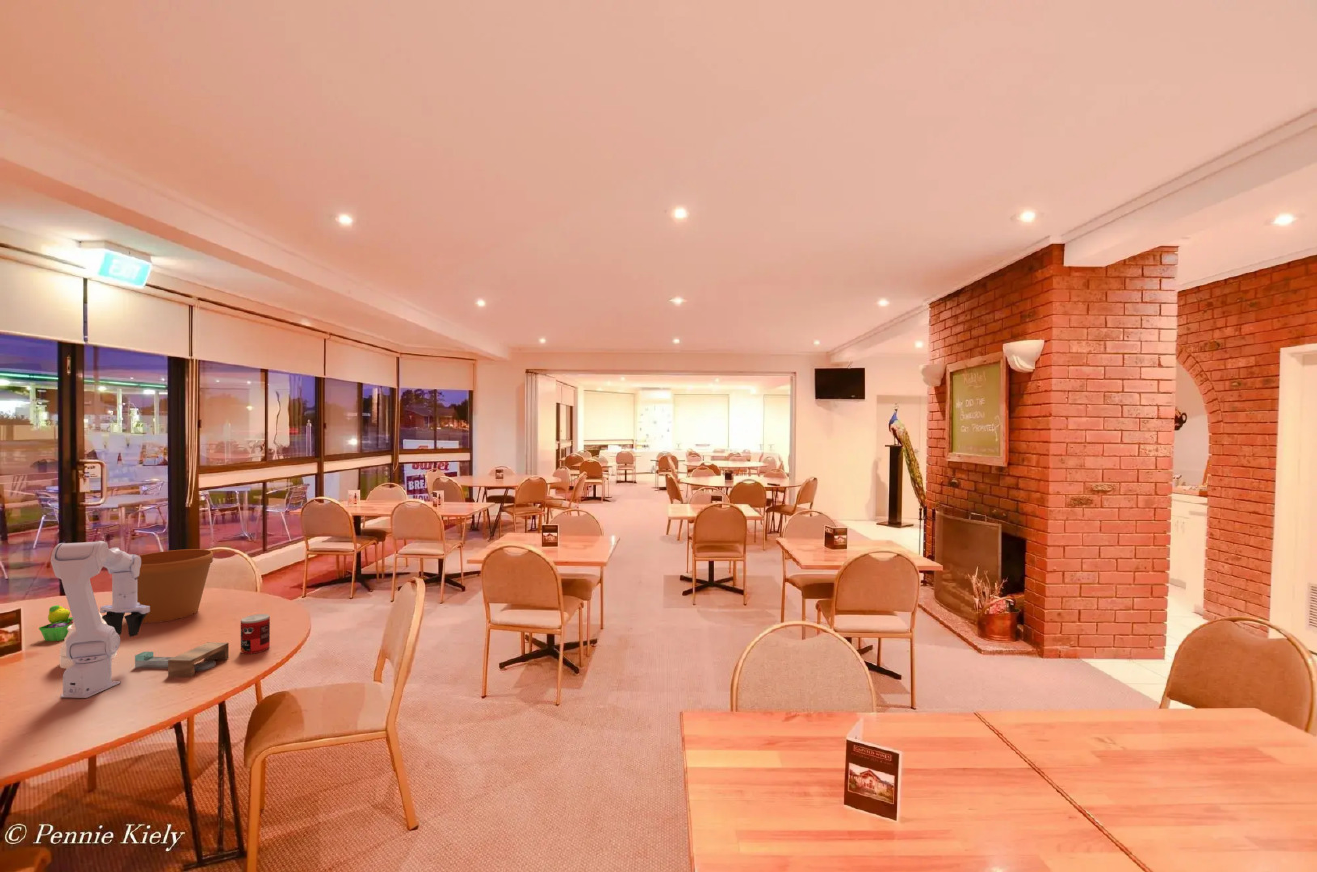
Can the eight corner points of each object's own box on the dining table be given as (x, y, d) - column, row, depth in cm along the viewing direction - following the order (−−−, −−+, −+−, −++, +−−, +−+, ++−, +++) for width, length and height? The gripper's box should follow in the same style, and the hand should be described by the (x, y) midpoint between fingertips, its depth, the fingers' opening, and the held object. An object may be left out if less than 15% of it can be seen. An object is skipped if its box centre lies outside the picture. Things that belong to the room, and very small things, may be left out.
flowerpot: (115, 632, 203) (114, 568, 202) (124, 613, 224) (124, 555, 224) (213, 616, 220) (212, 558, 220) (212, 599, 242) (212, 546, 242)
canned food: (238, 649, 188) (238, 617, 187) (267, 643, 193) (267, 612, 193) (242, 656, 182) (242, 623, 182) (271, 649, 188) (271, 617, 188)
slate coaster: (204, 672, 171) (204, 668, 171) (187, 671, 171) (187, 667, 171) (220, 664, 177) (220, 660, 177) (203, 664, 177) (203, 660, 177)
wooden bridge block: (190, 676, 167) (190, 660, 167) (168, 676, 167) (168, 659, 167) (228, 657, 181) (228, 642, 181) (207, 657, 181) (207, 642, 181)
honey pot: (122, 657, 181) (122, 602, 181) (66, 672, 170) (66, 613, 170) (109, 649, 188) (108, 596, 187) (54, 662, 177) (53, 606, 176)
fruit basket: (59, 642, 194) (58, 610, 193) (33, 642, 193) (33, 610, 193) (92, 630, 205) (92, 600, 205) (68, 630, 205) (68, 600, 205)
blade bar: (181, 669, 173) (181, 656, 173) (135, 668, 173) (134, 655, 173) (190, 665, 176) (190, 652, 176) (144, 664, 176) (144, 651, 176)
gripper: (158, 589, 179) (159, 631, 179) (116, 588, 179) (116, 630, 179) (137, 595, 171) (137, 639, 172) (92, 595, 172) (93, 638, 172)
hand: (125, 635), depth 175 cm, fingers open, 5 cm apart
